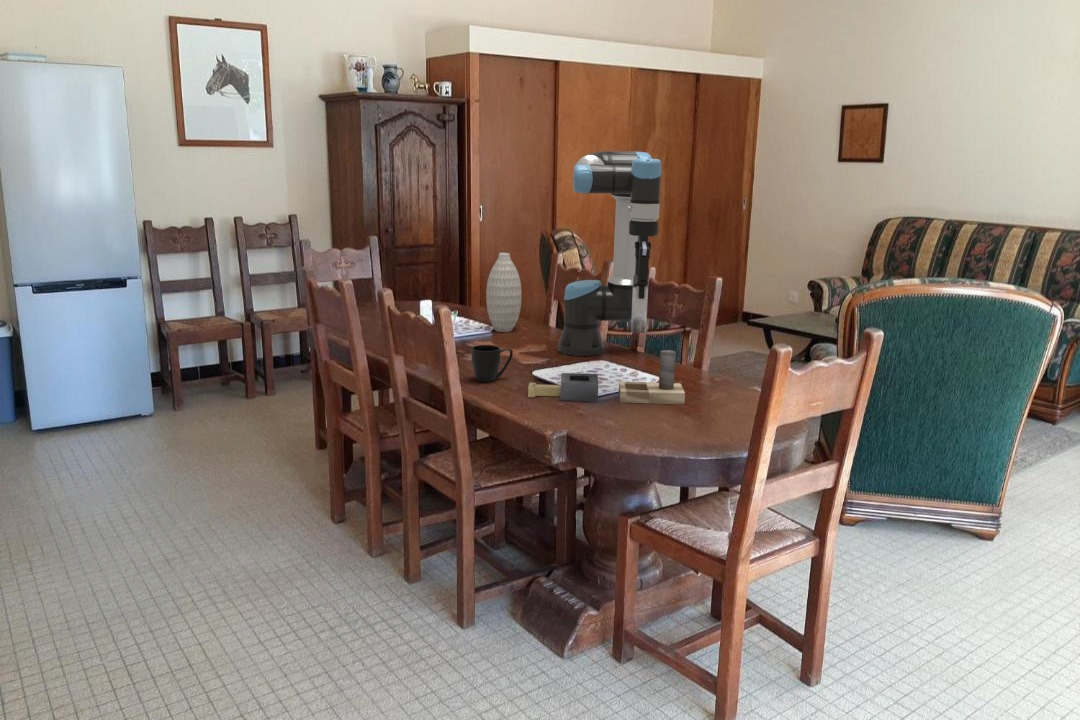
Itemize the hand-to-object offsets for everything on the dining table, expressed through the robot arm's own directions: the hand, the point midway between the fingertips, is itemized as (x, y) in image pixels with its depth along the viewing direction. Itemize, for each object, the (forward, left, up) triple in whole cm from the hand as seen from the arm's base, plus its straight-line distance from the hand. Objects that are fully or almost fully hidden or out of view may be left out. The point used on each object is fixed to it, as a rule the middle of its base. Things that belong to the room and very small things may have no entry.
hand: (639, 308), depth 227 cm
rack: (0, +4, -25) cm, 25 cm away
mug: (-14, -40, -25) cm, 49 cm away
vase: (-81, -42, -25) cm, 95 cm away
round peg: (0, 0, -6) cm, 6 cm away
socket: (0, -15, -25) cm, 29 cm away
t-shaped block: (0, -24, -25) cm, 34 cm away
